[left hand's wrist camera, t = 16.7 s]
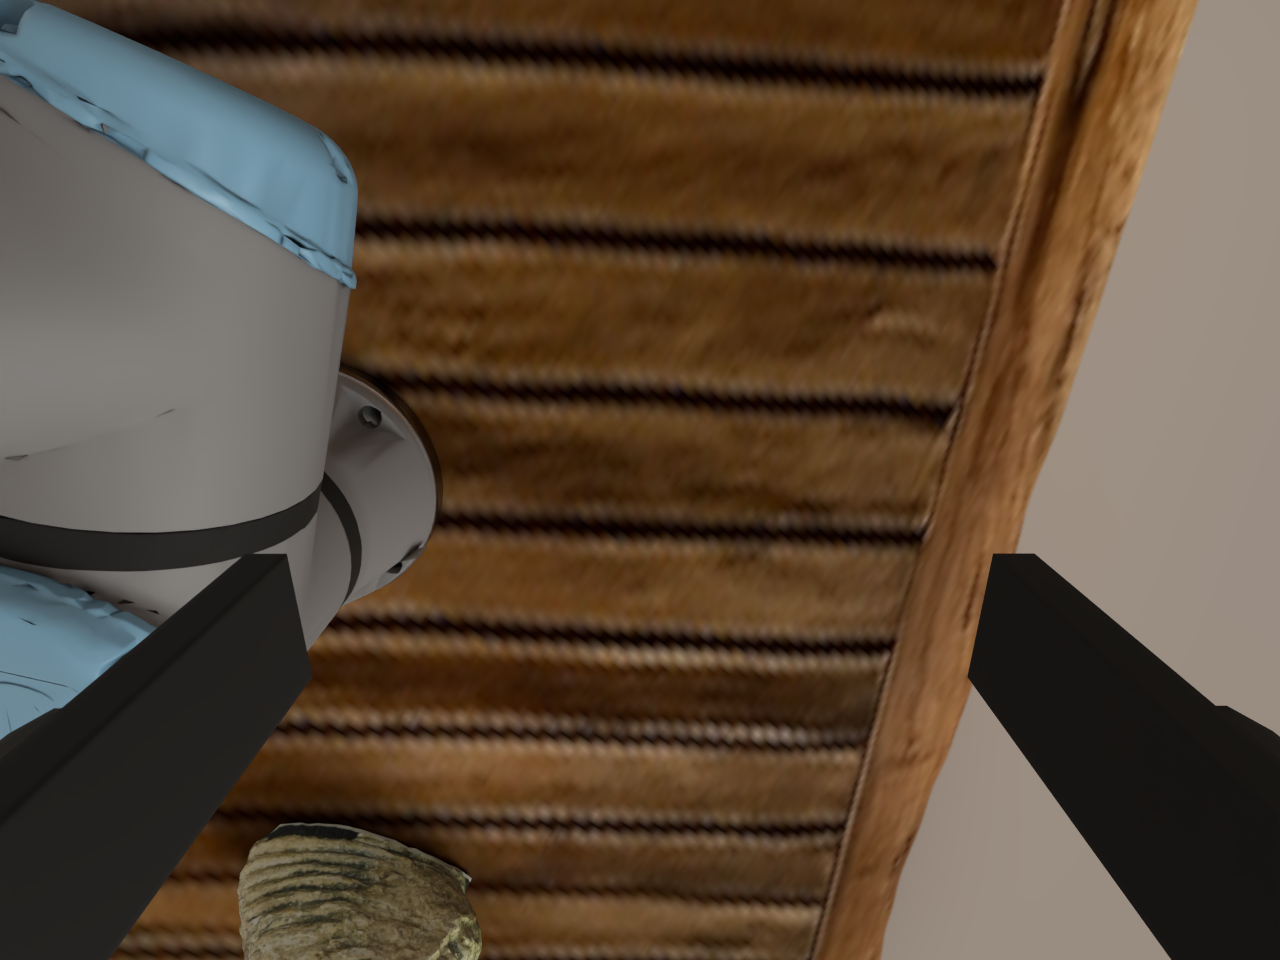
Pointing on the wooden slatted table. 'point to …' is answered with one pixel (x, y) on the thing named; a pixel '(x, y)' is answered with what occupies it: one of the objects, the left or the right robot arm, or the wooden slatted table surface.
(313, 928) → the fossil
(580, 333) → the wooden slatted table surface
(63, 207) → the left robot arm
